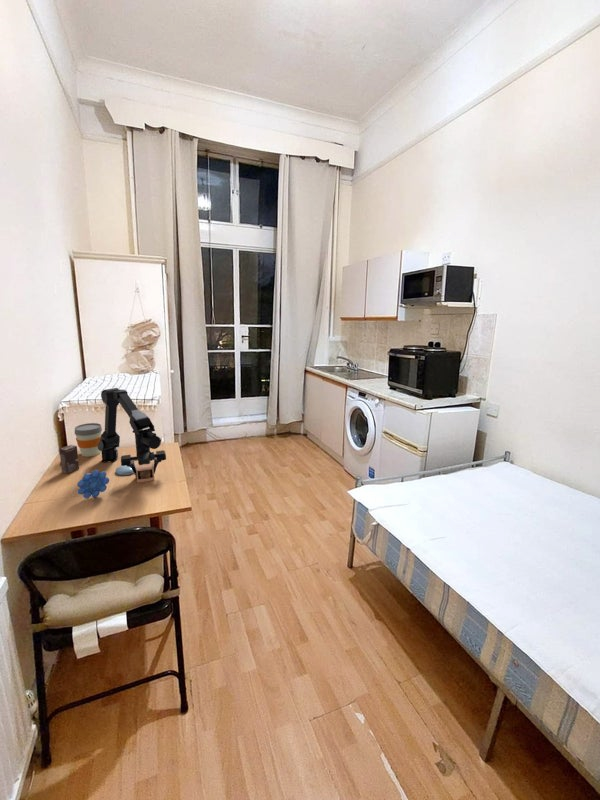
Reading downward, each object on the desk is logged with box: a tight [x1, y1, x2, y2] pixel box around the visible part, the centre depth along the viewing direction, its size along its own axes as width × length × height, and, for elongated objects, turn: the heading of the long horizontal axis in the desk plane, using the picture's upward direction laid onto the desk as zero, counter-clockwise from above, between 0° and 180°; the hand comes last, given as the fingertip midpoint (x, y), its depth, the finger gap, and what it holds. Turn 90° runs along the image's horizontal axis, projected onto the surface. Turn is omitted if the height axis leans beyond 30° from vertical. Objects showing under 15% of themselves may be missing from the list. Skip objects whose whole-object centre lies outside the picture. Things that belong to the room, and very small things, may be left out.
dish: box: [115, 463, 137, 476], centre depth 171 cm, size 10×10×1 cm
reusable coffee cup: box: [74, 422, 103, 457], centre depth 188 cm, size 12×12×15 cm
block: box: [140, 470, 151, 479], centre depth 164 cm, size 4×4×4 cm
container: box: [135, 461, 155, 483], centre depth 163 cm, size 7×7×6 cm
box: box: [58, 444, 80, 474], centre depth 168 cm, size 6×4×12 cm
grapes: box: [77, 469, 110, 499], centre depth 146 cm, size 12×7×12 cm, turn 120°
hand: (145, 474), depth 164 cm, fingers closed on container, 7 cm apart
